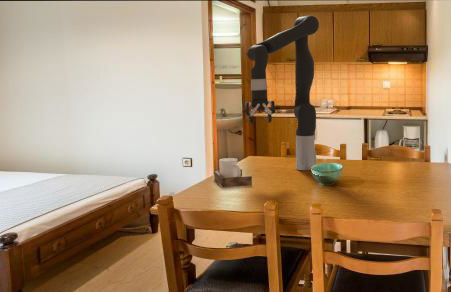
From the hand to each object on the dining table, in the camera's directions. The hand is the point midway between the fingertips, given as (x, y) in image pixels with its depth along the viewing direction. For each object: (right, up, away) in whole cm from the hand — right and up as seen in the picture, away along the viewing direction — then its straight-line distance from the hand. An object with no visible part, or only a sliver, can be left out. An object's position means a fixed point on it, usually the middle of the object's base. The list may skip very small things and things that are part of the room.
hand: (260, 123), depth 238 cm
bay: (-13, -27, -8) cm, 31 cm away
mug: (-14, -27, -8) cm, 32 cm away
